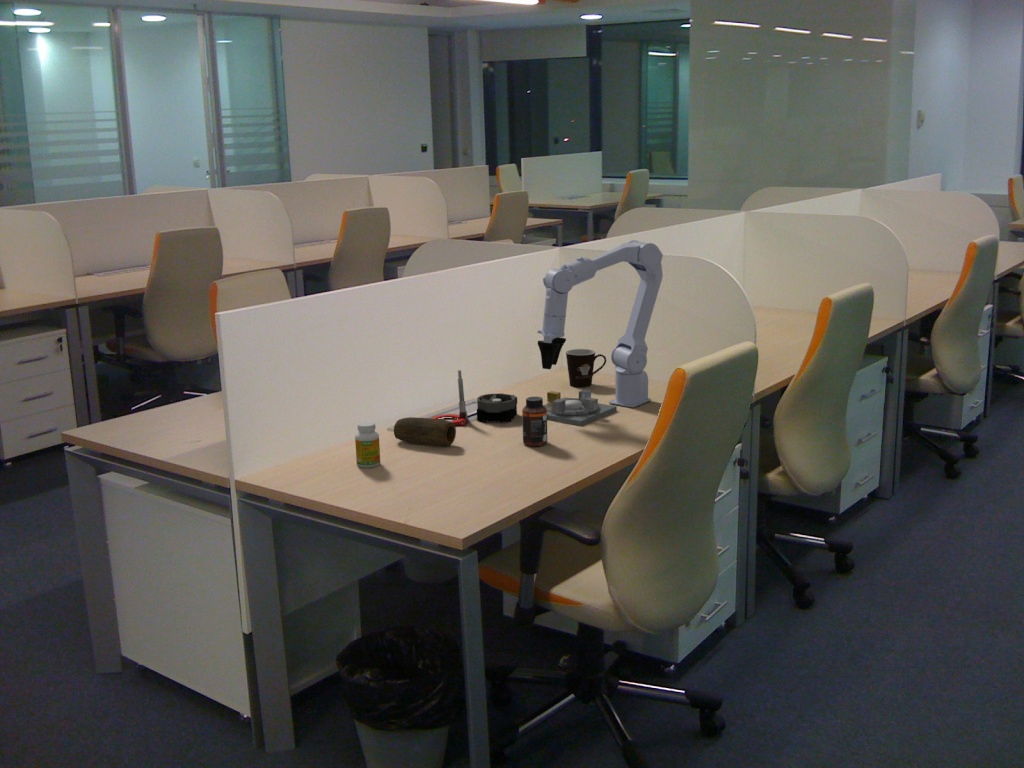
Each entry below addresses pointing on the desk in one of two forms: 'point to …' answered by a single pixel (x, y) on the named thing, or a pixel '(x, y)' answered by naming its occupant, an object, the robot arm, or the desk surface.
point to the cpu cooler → (496, 407)
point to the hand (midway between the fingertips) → (549, 366)
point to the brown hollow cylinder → (425, 431)
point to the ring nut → (558, 404)
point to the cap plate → (580, 419)
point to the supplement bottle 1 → (367, 445)
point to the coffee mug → (581, 367)
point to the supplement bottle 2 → (534, 422)
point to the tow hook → (463, 413)
